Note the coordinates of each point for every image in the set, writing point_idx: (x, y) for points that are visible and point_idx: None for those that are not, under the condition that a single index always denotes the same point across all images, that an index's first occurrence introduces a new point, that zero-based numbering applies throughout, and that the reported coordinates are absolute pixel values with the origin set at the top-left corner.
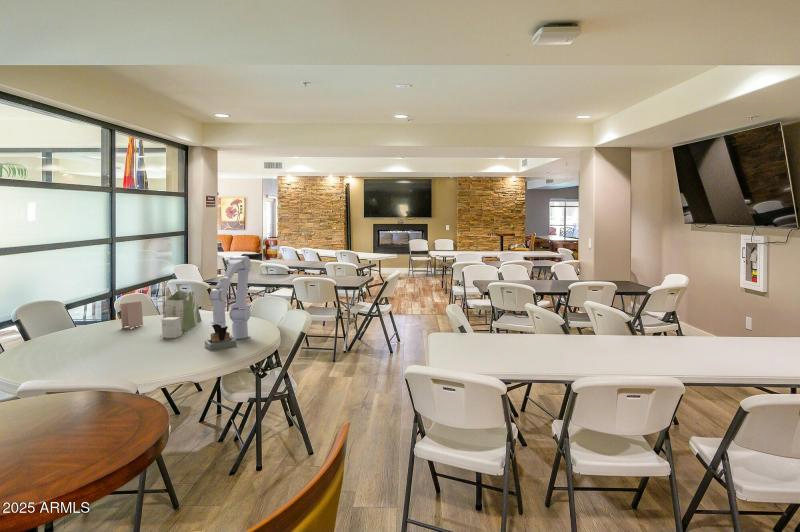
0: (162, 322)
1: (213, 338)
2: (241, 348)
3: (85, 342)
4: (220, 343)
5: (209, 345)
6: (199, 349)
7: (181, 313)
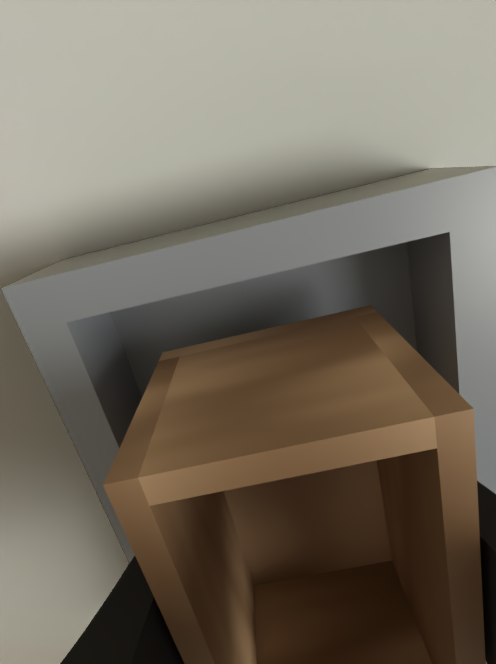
0: None
1: (132, 422)
2: (47, 623)
3: None
4: (96, 472)
5: (48, 272)
6: (210, 49)
7: None
